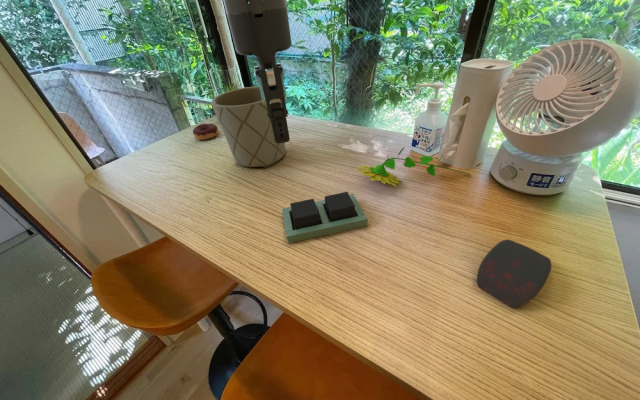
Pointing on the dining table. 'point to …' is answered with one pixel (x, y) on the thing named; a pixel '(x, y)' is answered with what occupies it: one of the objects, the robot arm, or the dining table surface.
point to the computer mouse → (513, 273)
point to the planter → (247, 127)
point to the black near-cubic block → (339, 206)
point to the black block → (305, 214)
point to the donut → (205, 131)
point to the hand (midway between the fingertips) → (280, 131)
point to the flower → (384, 176)
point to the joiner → (323, 223)
